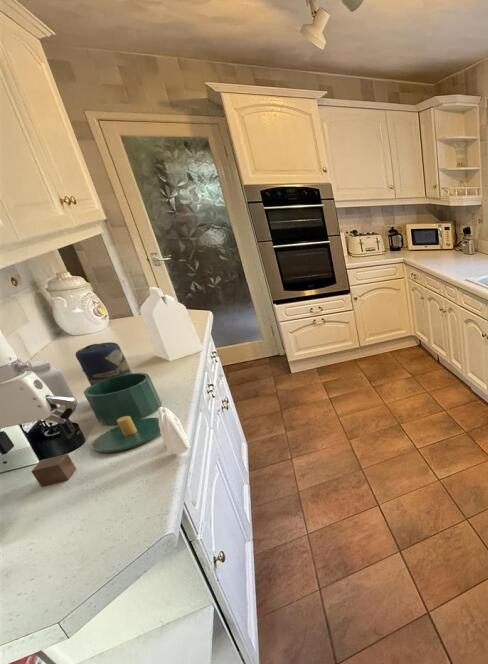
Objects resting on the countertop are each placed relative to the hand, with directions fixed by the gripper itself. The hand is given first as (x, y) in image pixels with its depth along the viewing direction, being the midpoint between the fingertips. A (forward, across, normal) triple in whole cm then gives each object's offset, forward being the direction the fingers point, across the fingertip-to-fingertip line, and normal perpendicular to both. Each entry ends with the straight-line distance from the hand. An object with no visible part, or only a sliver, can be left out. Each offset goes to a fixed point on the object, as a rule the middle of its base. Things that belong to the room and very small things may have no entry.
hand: (40, 443), depth 86 cm
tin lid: (+9, -10, -12) cm, 18 cm away
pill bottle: (+9, +14, -42) cm, 45 cm away
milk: (+10, -9, -76) cm, 77 cm away
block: (+10, 0, 0) cm, 10 cm away
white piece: (+10, -22, 0) cm, 24 cm away
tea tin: (+10, -6, -28) cm, 30 cm away
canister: (+10, 0, -42) cm, 43 cm away
